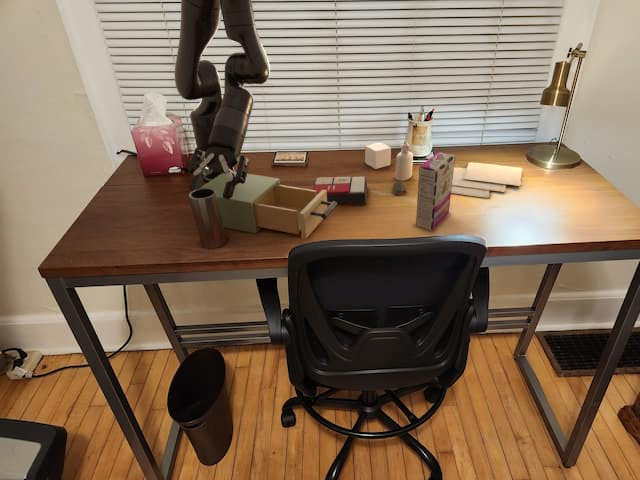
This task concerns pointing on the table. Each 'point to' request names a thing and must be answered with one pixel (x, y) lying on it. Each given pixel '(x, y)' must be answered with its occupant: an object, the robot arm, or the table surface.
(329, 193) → the red and black box
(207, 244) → the metal cup
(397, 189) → the block
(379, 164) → the cream white cube
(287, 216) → the drawer
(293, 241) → the table surface
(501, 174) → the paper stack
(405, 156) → the eye dropper bottle
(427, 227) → the candy bar box
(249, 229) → the cabinet
